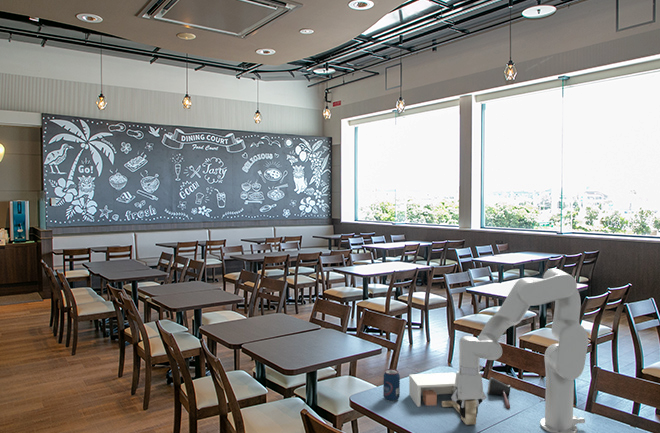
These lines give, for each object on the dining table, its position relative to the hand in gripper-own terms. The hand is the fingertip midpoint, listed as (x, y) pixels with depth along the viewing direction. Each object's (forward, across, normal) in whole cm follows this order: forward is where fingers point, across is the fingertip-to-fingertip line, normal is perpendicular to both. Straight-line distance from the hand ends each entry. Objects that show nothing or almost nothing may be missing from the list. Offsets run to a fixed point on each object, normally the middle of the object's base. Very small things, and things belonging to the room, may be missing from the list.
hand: (468, 415), depth 185 cm
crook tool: (+2, +2, -6) cm, 7 cm away
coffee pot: (+3, -22, -18) cm, 29 cm away
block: (+3, +9, -19) cm, 21 cm away
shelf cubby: (+3, +5, -22) cm, 22 cm away
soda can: (+3, +24, -25) cm, 35 cm away
